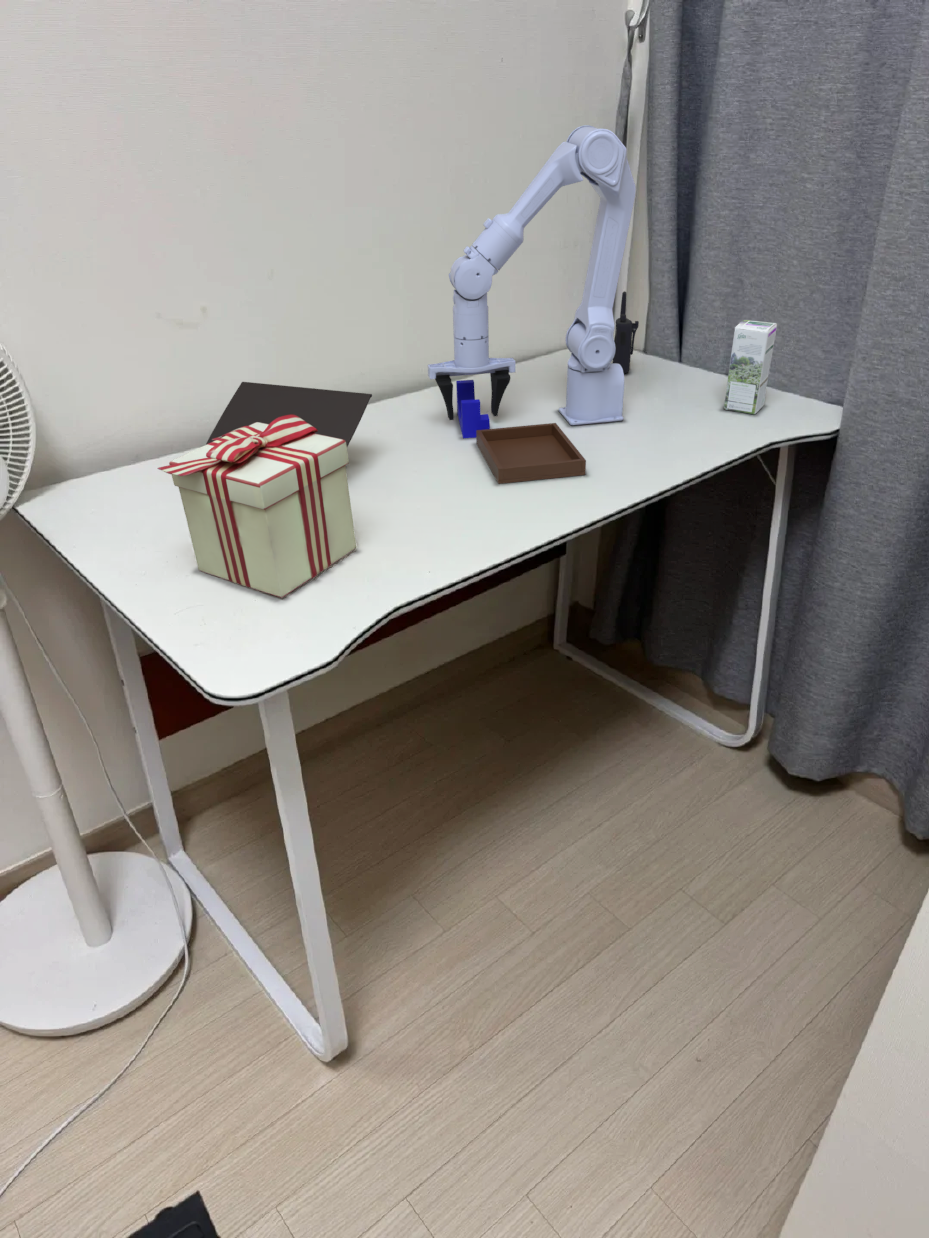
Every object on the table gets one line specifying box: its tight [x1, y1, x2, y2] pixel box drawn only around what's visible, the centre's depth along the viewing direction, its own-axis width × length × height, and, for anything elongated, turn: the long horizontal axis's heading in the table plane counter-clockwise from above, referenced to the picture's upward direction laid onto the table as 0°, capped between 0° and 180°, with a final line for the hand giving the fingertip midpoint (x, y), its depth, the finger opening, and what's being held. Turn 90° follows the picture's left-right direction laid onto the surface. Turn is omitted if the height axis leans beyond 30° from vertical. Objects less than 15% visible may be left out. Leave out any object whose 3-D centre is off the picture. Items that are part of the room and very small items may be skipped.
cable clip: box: [455, 379, 491, 439], centre depth 146 cm, size 12×4×6 cm, turn 5°
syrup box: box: [723, 319, 778, 415], centre depth 148 cm, size 6×6×14 cm
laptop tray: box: [205, 381, 373, 448], centre depth 130 cm, size 23×23×9 cm
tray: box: [475, 422, 587, 485], centre depth 134 cm, size 13×16×2 cm
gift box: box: [157, 415, 357, 599], centre depth 104 cm, size 17×18×17 cm
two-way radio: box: [611, 290, 640, 375], centre depth 167 cm, size 6×4×15 cm
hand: (472, 416), depth 147 cm, fingers open, 7 cm apart
